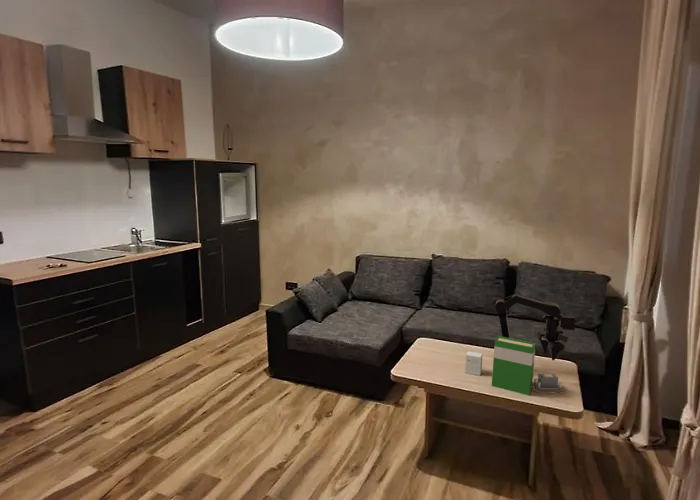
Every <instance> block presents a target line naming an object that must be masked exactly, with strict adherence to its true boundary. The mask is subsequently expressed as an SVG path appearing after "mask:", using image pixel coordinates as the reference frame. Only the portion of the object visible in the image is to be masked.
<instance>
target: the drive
mask: <svg viewBox="0 0 700 500" xmlns="http://www.w3.org/2000/svg"><path fill="white" fill-rule="evenodd" d="M537 374H538V375H537V384H538V382H540V383H541V385H540V387H541V388H558V385H559V377H558V376H557V375H556V373H537Z"/></svg>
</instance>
